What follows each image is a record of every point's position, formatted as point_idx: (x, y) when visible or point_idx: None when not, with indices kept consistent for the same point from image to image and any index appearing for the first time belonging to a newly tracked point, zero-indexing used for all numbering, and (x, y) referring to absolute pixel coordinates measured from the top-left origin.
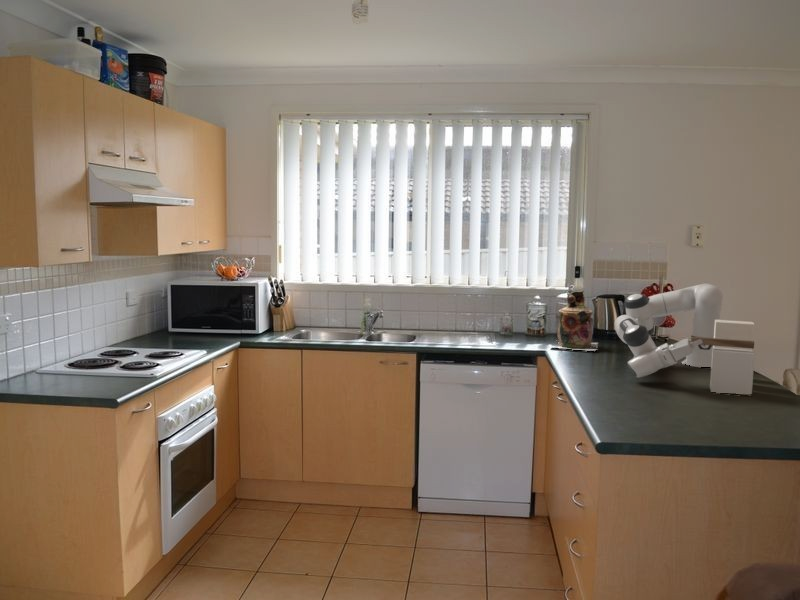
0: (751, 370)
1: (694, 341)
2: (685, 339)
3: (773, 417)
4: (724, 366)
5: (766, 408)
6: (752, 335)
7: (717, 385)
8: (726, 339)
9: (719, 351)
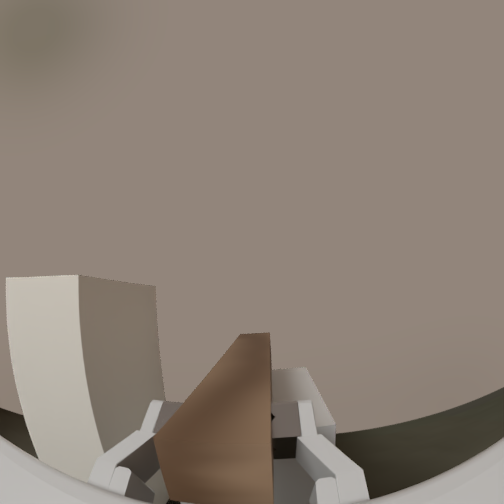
0: None
1: (333, 450)
2: (7, 463)
3: (479, 413)
4: None
5: (422, 442)
6: (155, 325)
7: None
8: (242, 351)
9: (329, 412)
